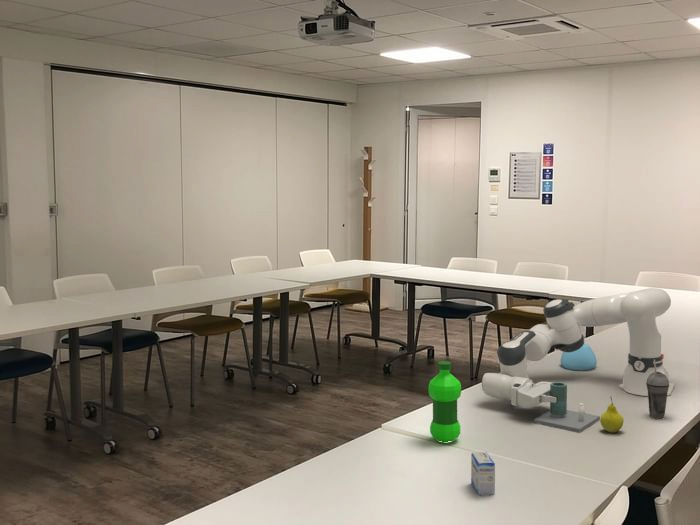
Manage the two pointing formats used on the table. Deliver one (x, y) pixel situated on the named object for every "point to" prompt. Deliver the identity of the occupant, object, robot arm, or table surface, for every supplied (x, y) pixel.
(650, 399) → the beverage cup
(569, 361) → the sugar bowl
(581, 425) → the pin board
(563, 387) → the sleeve
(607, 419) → the fruit
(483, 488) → the medicine box
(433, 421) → the plastic bottle
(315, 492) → the table surface
